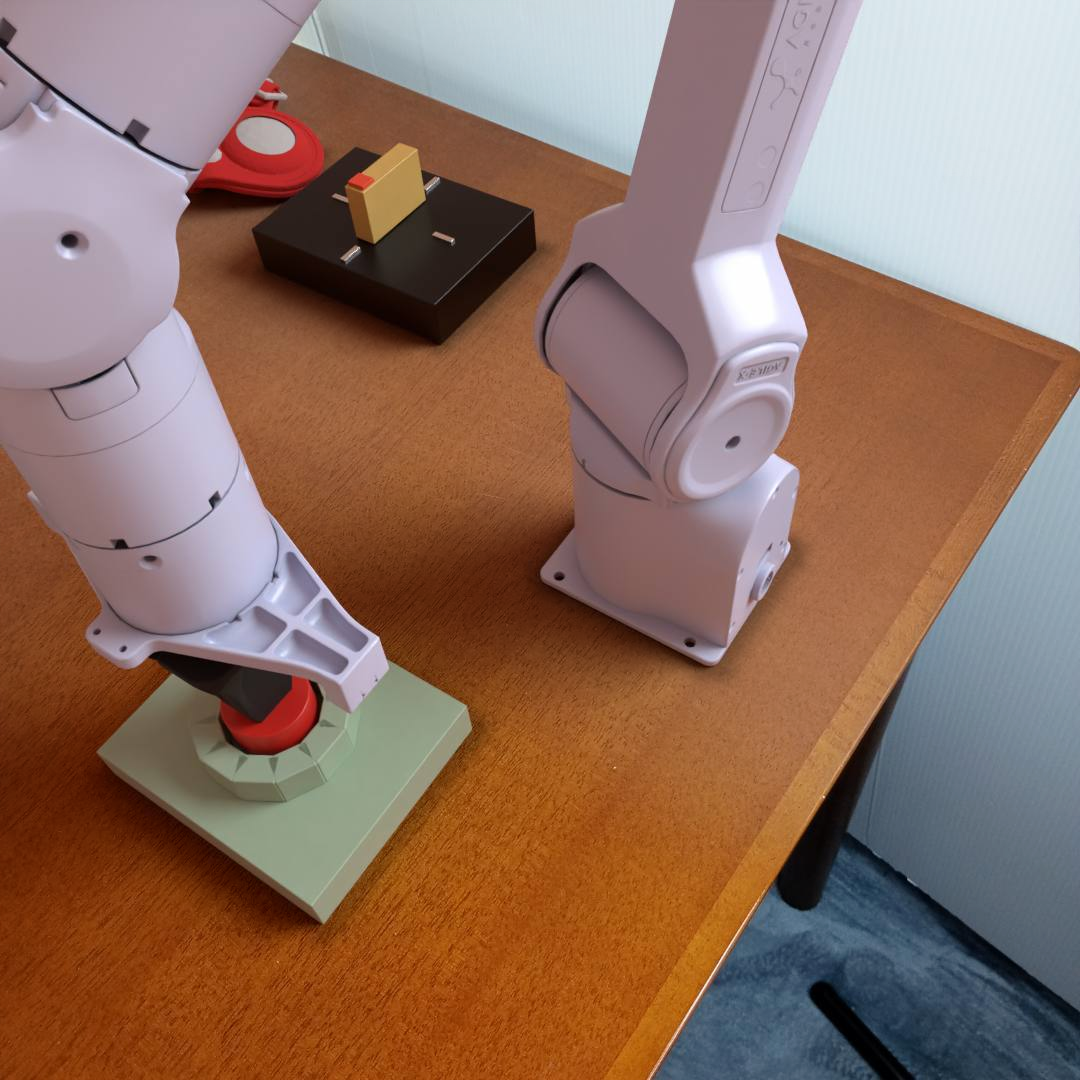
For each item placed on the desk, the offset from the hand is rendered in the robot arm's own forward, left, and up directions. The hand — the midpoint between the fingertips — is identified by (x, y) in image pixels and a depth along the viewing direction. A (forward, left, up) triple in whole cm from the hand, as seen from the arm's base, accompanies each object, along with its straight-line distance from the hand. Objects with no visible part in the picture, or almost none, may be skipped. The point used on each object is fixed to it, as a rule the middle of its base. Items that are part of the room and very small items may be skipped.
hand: (264, 697), depth 43 cm
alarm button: (0, 0, -2) cm, 2 cm away
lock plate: (+17, -29, -5) cm, 34 cm away
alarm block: (0, 0, -5) cm, 5 cm away
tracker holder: (+32, -33, -5) cm, 46 cm away
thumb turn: (+17, -29, -2) cm, 34 cm away
